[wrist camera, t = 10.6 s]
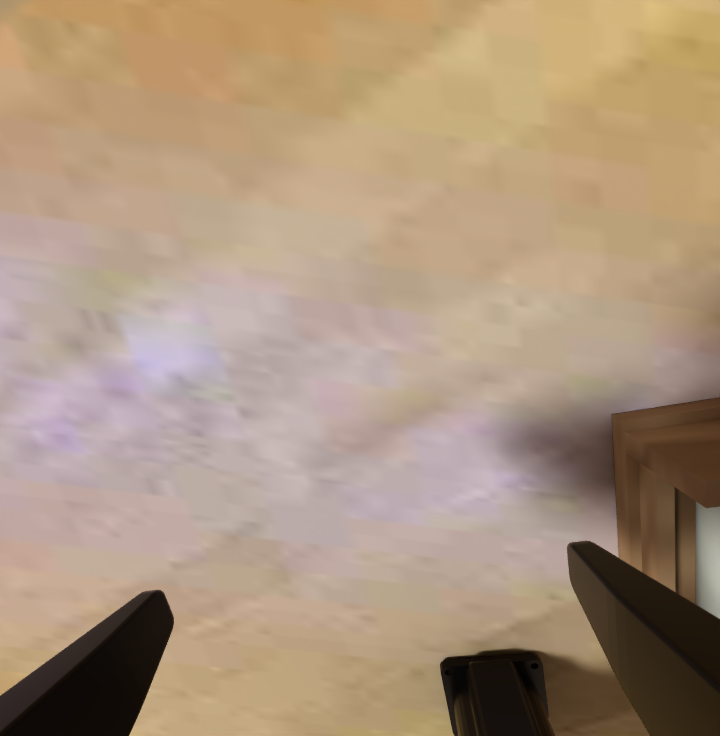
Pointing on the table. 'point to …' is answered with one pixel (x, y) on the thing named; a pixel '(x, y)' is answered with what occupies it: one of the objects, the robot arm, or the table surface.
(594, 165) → the table surface
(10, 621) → the table surface
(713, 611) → the roll
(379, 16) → the table surface
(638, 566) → the holder
